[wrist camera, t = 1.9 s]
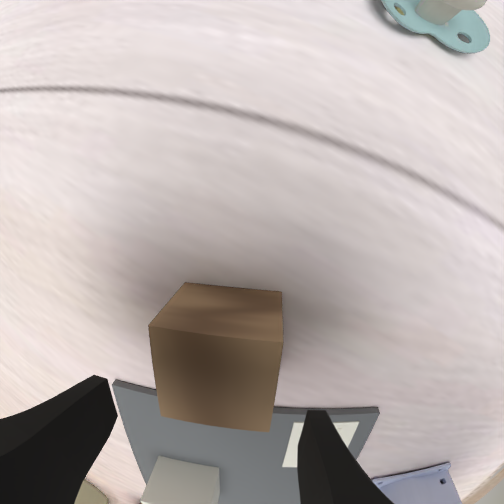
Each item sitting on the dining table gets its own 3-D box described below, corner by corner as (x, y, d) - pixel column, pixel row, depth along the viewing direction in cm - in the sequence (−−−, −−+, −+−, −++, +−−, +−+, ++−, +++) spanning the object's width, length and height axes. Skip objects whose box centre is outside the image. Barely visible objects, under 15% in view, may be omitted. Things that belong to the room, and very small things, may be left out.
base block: (219, 467, 18) (208, 517, 13) (219, 492, 19) (211, 535, 14) (158, 455, 18) (140, 500, 13) (166, 482, 19) (152, 521, 15)
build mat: (377, 407, 16) (380, 414, 15) (324, 506, 20) (324, 511, 19) (115, 379, 17) (110, 386, 16) (150, 486, 21) (148, 491, 20)
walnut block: (281, 291, 15) (283, 342, 10) (272, 369, 16) (269, 432, 11) (185, 281, 15) (148, 325, 10) (187, 359, 16) (160, 415, 11)
